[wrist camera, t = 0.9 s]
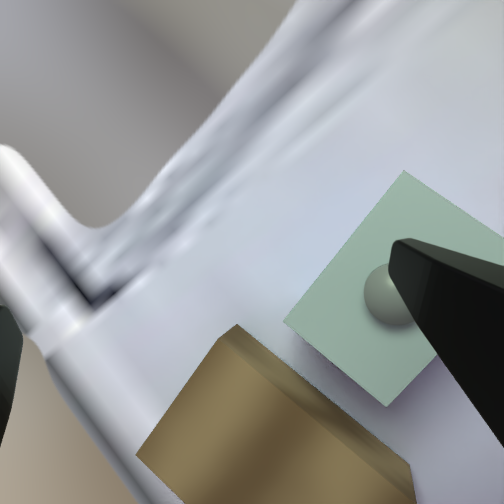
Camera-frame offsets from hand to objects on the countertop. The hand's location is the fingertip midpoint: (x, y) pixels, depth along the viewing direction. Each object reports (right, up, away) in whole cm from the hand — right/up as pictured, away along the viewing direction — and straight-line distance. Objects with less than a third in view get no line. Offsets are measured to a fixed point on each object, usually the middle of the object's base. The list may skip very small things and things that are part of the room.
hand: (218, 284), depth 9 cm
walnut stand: (+2, -11, +13) cm, 17 cm away
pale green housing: (+8, -1, +11) cm, 14 cm away
